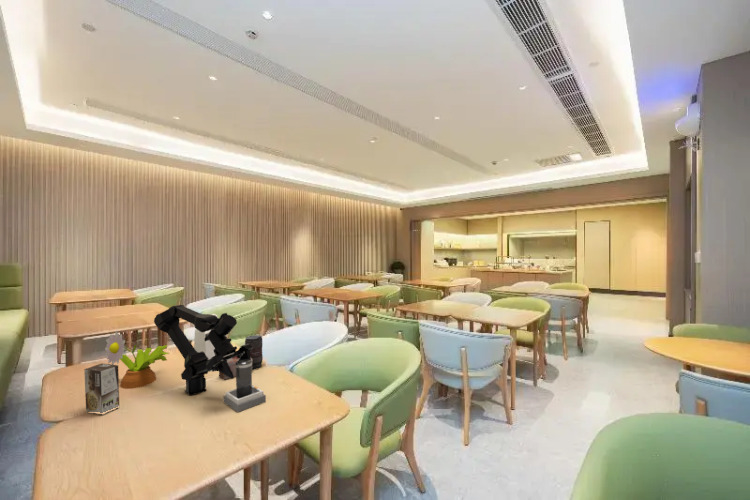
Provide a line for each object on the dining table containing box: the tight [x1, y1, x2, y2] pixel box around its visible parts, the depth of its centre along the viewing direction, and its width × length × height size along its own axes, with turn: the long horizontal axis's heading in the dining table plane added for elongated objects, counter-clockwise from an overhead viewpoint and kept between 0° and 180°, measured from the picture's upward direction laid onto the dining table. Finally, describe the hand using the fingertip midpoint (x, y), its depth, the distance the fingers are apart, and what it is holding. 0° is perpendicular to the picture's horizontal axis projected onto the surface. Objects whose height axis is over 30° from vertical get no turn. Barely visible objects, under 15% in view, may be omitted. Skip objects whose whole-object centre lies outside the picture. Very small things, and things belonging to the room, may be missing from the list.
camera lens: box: [244, 334, 264, 370], centre depth 169 cm, size 8×8×15 cm
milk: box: [193, 313, 228, 373], centre depth 170 cm, size 12×12×26 cm
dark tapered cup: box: [235, 359, 253, 399], centre depth 131 cm, size 6×6×13 cm
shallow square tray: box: [223, 384, 267, 413], centre depth 131 cm, size 11×12×4 cm
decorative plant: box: [104, 330, 170, 390], centre depth 152 cm, size 27×24×25 cm
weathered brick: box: [218, 356, 253, 380], centre depth 159 cm, size 14×8×10 cm, turn 139°
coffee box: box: [84, 362, 120, 413], centre depth 126 cm, size 9×6×16 cm
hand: (242, 374), depth 131 cm, fingers open, 9 cm apart
